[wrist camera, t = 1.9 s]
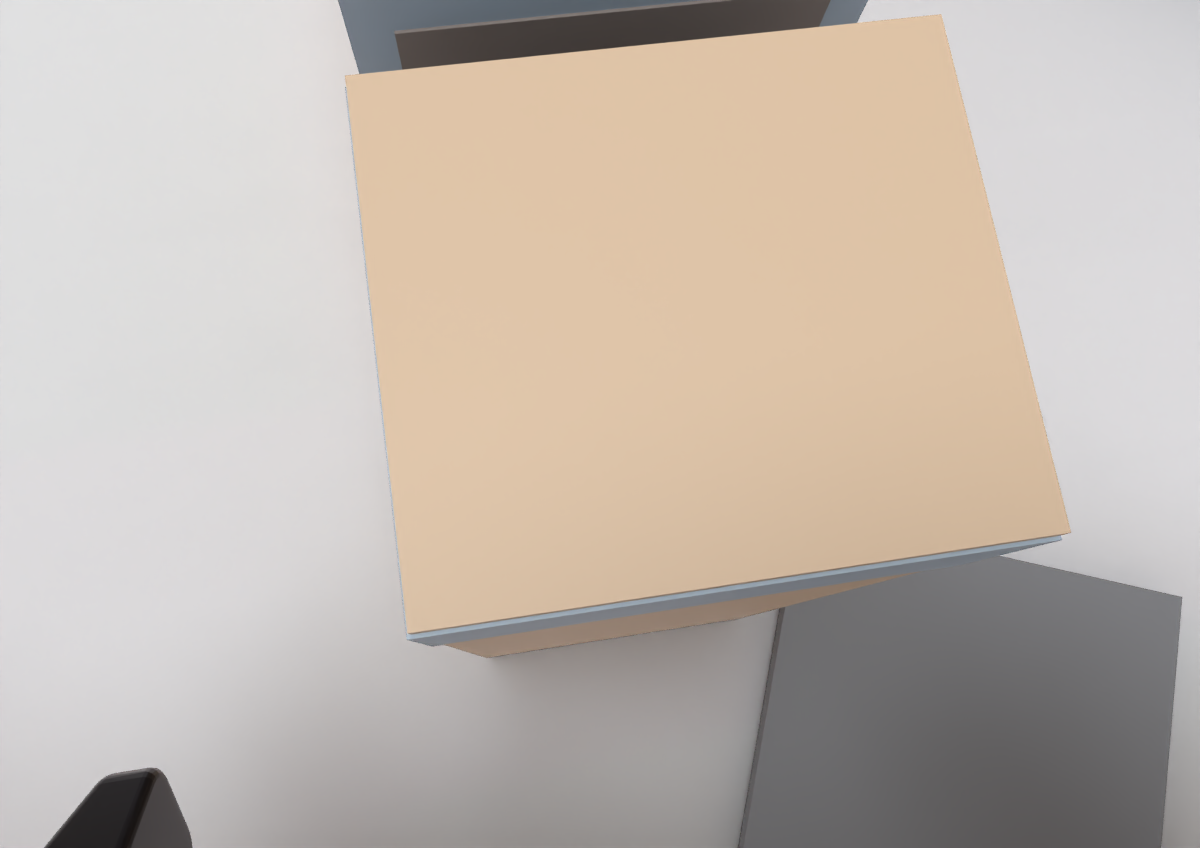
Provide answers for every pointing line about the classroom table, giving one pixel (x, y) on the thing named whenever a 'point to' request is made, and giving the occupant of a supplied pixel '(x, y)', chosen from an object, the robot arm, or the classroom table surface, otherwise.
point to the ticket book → (559, 26)
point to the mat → (968, 714)
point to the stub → (688, 333)
